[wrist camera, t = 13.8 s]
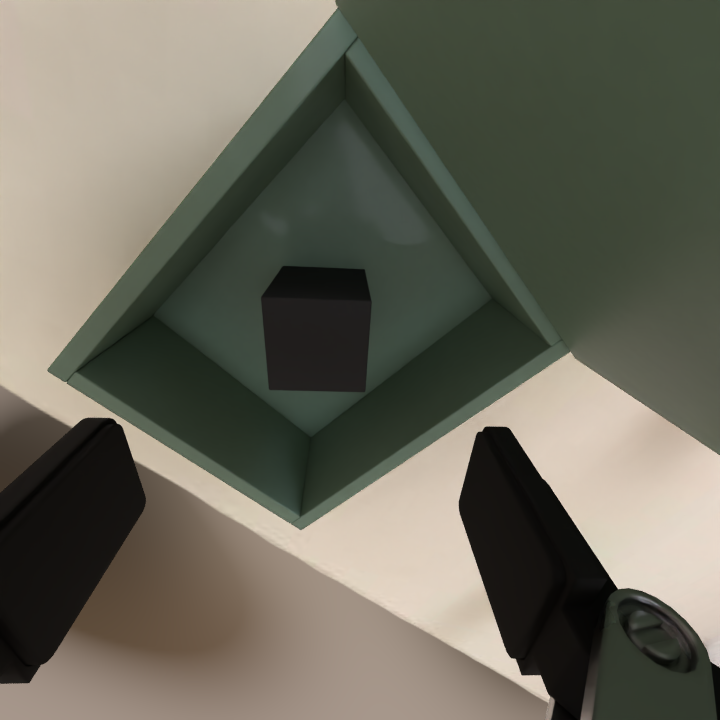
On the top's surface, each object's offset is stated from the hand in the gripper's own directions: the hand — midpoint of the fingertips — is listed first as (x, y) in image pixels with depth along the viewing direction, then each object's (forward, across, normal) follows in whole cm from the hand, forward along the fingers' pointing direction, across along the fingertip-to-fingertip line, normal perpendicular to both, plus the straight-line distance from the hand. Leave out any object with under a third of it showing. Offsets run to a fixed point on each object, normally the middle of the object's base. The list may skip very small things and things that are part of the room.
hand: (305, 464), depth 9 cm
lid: (-4, -6, -6) cm, 9 cm away
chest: (+13, 0, 0) cm, 13 cm away
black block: (+12, 0, 0) cm, 12 cm away
